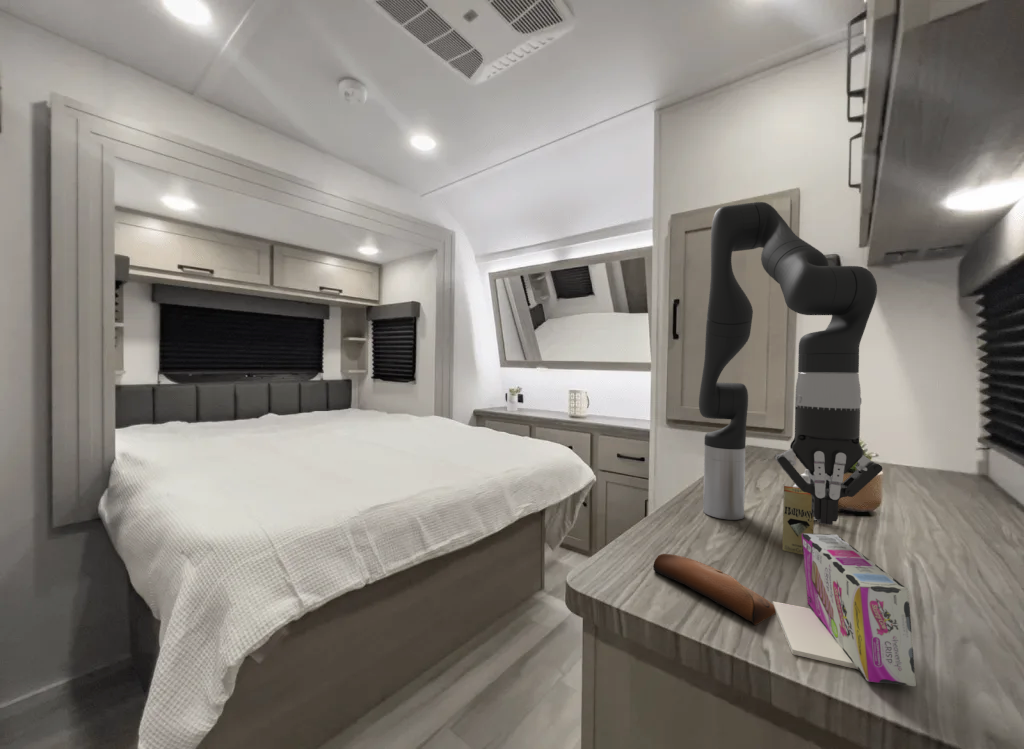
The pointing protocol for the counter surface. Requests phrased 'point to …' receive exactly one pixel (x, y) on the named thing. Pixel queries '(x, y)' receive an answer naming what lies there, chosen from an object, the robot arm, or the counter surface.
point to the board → (809, 635)
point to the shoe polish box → (796, 518)
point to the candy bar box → (860, 608)
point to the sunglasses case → (715, 586)
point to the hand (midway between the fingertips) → (823, 522)
